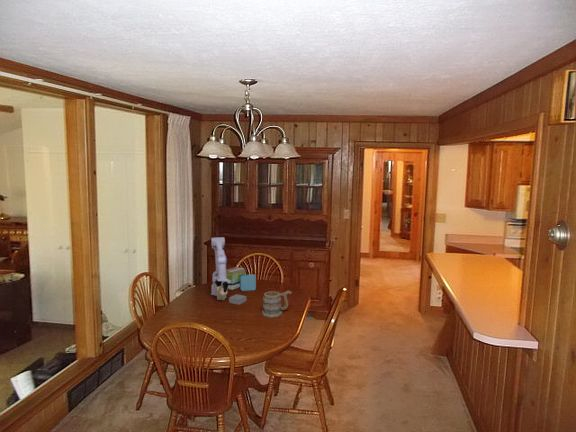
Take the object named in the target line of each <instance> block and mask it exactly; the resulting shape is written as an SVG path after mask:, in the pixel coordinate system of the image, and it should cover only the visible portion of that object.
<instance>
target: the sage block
mask: <svg viewBox="0 0 576 432" xmlns="http://www.w3.org/2000/svg"><path fill="white" fill-rule="evenodd" d="M216 298H217V299H216V300H218V301H225V298H226V299H227V294H224V295H220V294H217V296H216Z"/></svg>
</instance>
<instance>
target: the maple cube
mask: <svg viewBox="0 0 576 432" xmlns="http://www.w3.org/2000/svg"><path fill="white" fill-rule="evenodd" d="M217 294H220V295H224V294H226V295H227V294H228V291H227V292H224V290H223V285H222V286H219V287H217Z"/></svg>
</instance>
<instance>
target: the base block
mask: <svg viewBox="0 0 576 432" xmlns="http://www.w3.org/2000/svg"><path fill="white" fill-rule="evenodd" d="M246 302H247V296H246V295H242V294H239V293H237V294H234V295H232V296H230V297H228V303H229V304H234V305H242V304H244V303H246Z"/></svg>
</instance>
